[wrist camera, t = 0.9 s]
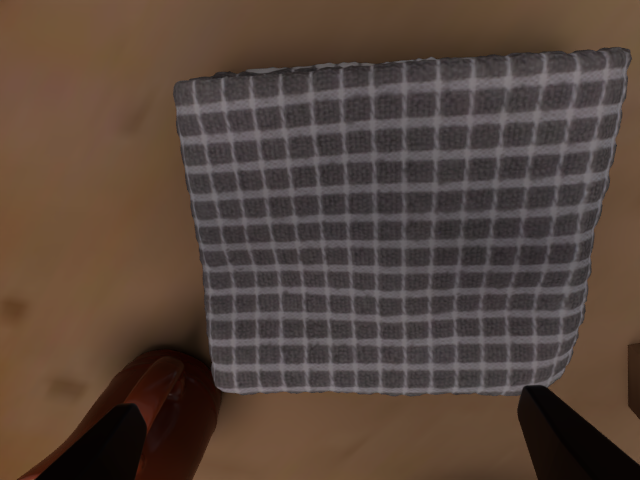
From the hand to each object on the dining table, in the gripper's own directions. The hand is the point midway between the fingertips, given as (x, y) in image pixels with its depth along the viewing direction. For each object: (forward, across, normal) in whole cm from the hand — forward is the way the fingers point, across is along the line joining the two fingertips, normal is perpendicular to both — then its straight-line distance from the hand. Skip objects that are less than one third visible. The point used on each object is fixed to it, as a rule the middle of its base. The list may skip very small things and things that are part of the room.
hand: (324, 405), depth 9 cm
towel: (+14, -2, +2) cm, 15 cm away
